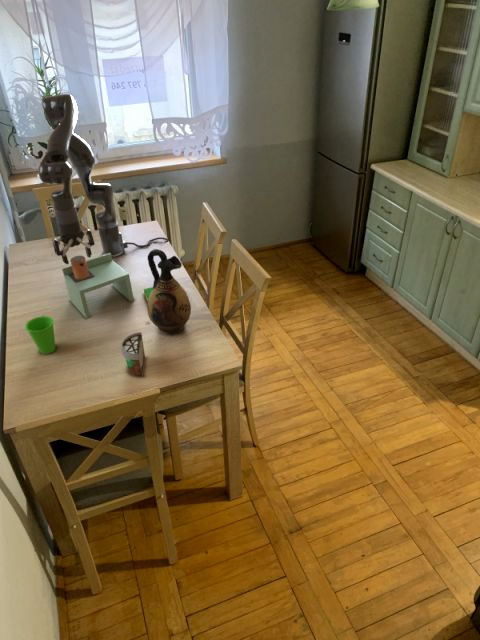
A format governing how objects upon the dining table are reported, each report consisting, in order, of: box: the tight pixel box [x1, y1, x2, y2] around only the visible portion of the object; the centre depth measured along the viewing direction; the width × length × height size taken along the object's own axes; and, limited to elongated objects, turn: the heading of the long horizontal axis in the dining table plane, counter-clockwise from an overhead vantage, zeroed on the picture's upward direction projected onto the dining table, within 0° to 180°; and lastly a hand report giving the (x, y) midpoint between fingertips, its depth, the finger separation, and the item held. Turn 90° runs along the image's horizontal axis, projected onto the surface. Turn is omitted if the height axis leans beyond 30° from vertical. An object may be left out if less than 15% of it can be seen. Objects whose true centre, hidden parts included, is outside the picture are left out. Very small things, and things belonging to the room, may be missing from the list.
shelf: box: [61, 253, 135, 319], centre depth 182 cm, size 20×16×15 cm
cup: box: [24, 315, 56, 355], centre depth 158 cm, size 9×9×11 cm
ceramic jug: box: [146, 248, 192, 336], centre depth 162 cm, size 17×15×30 cm
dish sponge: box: [143, 286, 153, 302], centre depth 185 cm, size 7×14×2 cm, turn 22°
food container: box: [120, 331, 146, 377], centre depth 149 cm, size 12×6×10 cm, turn 5°
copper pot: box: [69, 255, 89, 280], centre depth 176 cm, size 5×8×8 cm
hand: (78, 260), depth 174 cm, fingers open, 8 cm apart
